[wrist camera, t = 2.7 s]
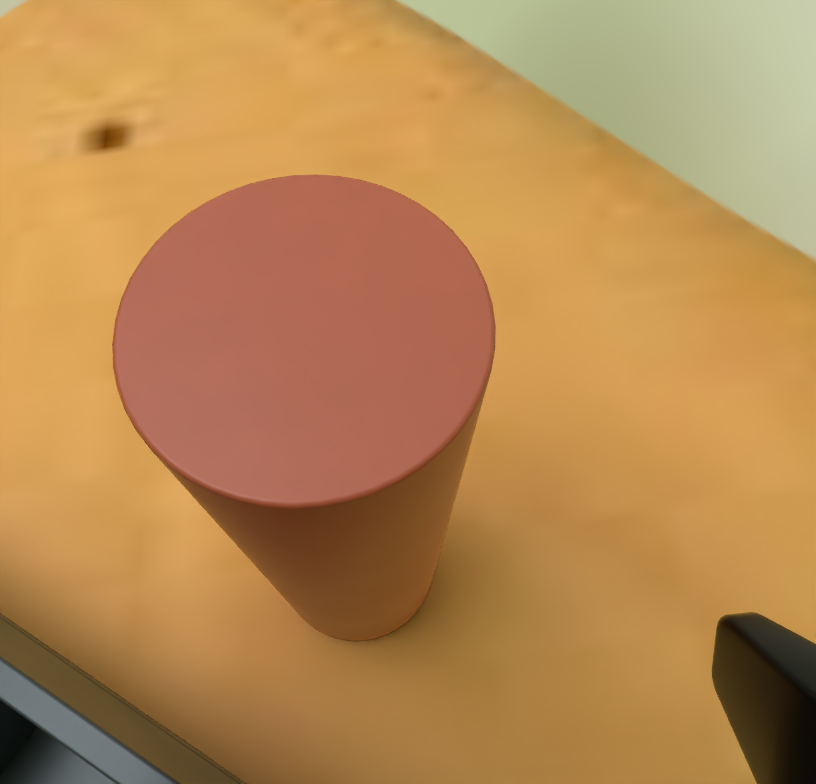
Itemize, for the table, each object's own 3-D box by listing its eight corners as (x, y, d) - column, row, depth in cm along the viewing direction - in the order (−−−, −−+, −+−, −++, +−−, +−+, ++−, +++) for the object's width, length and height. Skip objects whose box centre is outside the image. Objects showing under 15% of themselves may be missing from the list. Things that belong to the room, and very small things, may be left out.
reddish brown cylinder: (384, 672, 18) (369, 589, 6) (252, 589, 18) (26, 381, 7) (460, 534, 19) (559, 265, 8) (335, 463, 20) (258, 124, 9)
